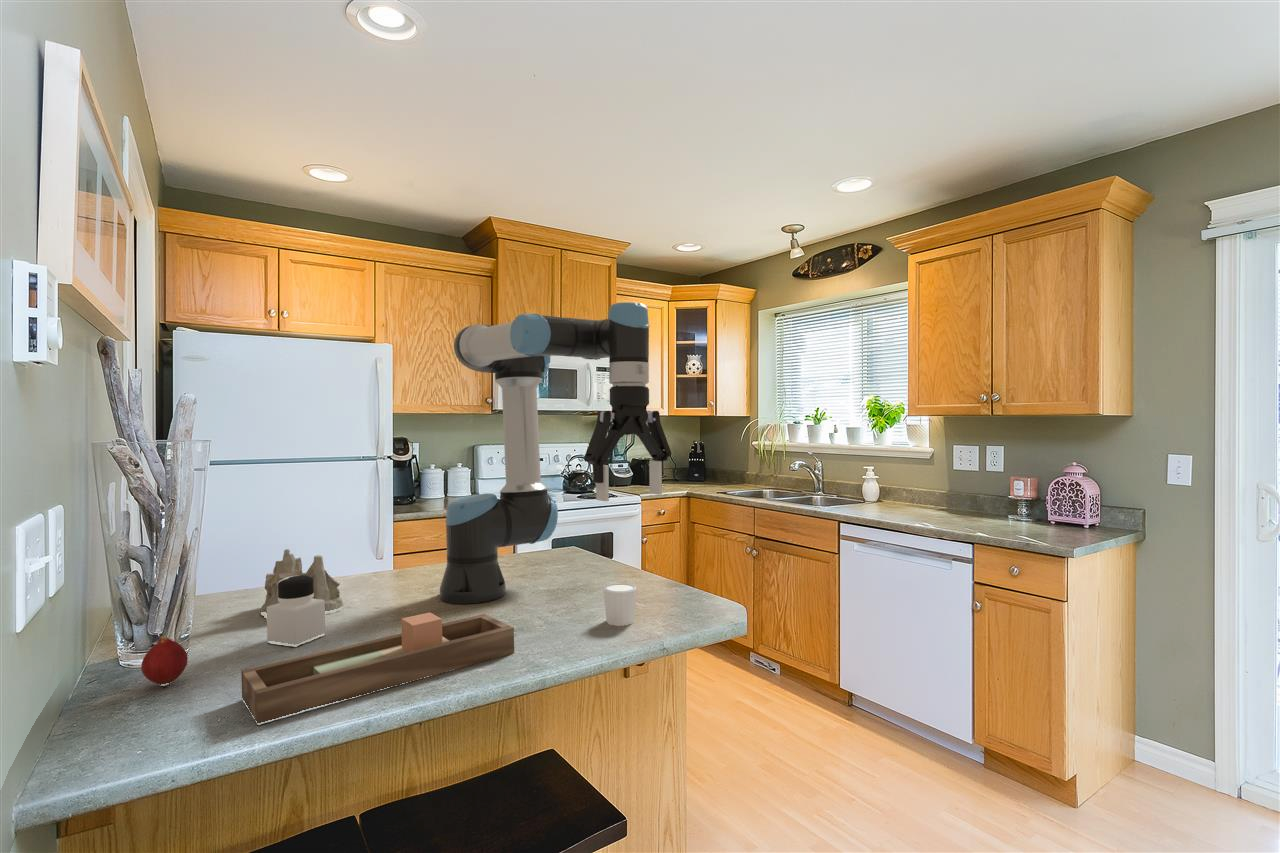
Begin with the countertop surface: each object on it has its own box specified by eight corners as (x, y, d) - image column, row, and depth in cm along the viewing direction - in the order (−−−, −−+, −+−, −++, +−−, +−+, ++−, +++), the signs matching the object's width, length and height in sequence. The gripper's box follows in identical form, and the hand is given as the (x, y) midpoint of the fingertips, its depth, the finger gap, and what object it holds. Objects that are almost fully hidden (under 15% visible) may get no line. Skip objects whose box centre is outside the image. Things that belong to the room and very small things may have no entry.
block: (401, 647, 109) (401, 618, 109) (430, 640, 113) (429, 612, 112) (413, 655, 105) (412, 625, 105) (442, 648, 109) (442, 618, 109)
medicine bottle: (326, 635, 125) (325, 574, 125) (295, 648, 118) (294, 583, 118) (298, 632, 127) (296, 571, 127) (266, 644, 120) (265, 580, 120)
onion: (158, 679, 105) (157, 630, 104) (195, 677, 105) (194, 629, 105) (133, 694, 99) (132, 642, 99) (173, 692, 99) (171, 641, 99)
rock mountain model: (345, 612, 139) (340, 543, 140) (257, 627, 132) (253, 554, 132) (342, 599, 153) (338, 536, 153) (263, 612, 146) (259, 546, 146)
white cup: (633, 627, 127) (632, 592, 127) (599, 626, 129) (599, 591, 129) (640, 617, 134) (639, 583, 134) (608, 615, 135) (607, 582, 135)
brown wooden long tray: (241, 700, 96) (241, 670, 96) (484, 637, 123) (484, 613, 123) (257, 726, 88) (256, 693, 88) (514, 652, 114) (513, 627, 114)
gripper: (589, 383, 111) (591, 505, 111) (688, 386, 128) (689, 492, 128) (564, 384, 116) (565, 501, 117) (662, 387, 133) (662, 489, 134)
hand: (630, 497), depth 122 cm, fingers open, 13 cm apart
